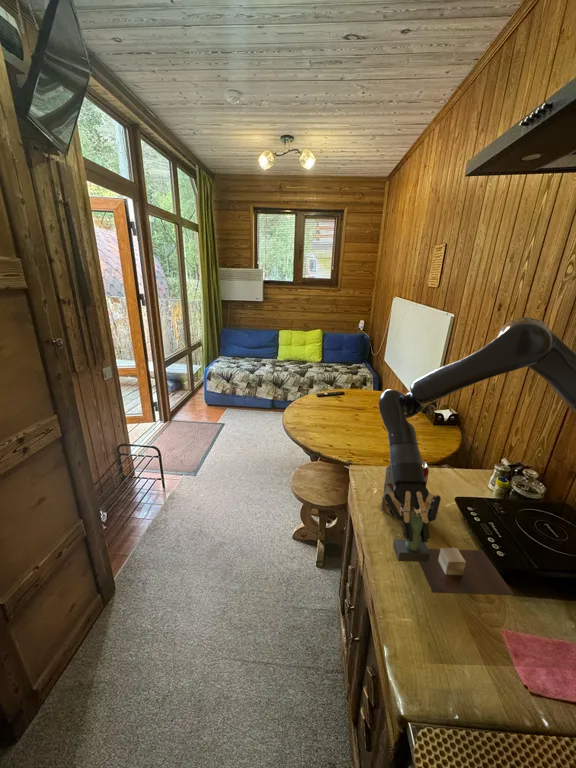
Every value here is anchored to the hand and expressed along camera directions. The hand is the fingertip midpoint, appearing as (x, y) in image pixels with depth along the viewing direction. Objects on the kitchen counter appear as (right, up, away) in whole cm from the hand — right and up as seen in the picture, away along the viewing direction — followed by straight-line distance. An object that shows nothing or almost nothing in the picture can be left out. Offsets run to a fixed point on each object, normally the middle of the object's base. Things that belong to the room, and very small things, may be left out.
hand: (417, 541), depth 69 cm
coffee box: (+4, -4, +23) cm, 24 cm away
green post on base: (0, -5, +4) cm, 6 cm away
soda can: (+12, -2, +33) cm, 35 cm away
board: (+12, -10, +5) cm, 16 cm away
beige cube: (+10, -9, +5) cm, 14 cm away
